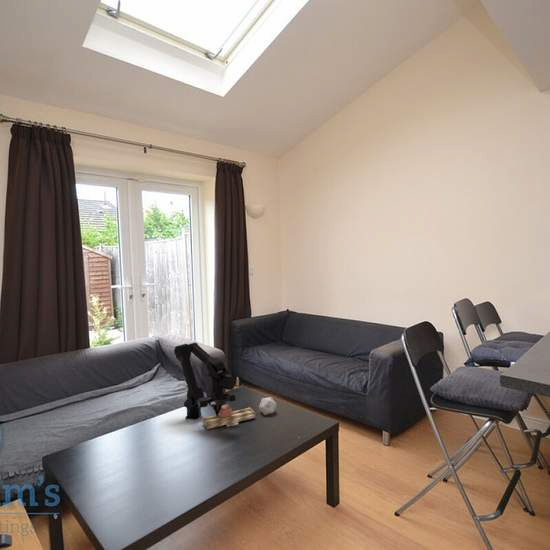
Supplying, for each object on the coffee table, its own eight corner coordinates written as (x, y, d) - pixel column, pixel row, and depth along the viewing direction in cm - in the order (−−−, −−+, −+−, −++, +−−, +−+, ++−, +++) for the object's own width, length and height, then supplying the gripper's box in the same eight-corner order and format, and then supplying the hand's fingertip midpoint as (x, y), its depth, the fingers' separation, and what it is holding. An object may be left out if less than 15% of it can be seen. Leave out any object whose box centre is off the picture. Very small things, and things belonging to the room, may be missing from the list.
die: (255, 414, 196) (260, 404, 190) (260, 401, 203) (264, 391, 197) (270, 420, 196) (275, 410, 190) (274, 406, 203) (279, 396, 197)
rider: (222, 421, 182) (222, 410, 181) (219, 416, 187) (218, 406, 187) (232, 418, 184) (232, 408, 184) (228, 414, 189) (228, 404, 189)
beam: (208, 431, 176) (207, 424, 176) (202, 423, 185) (202, 416, 185) (256, 420, 188) (256, 412, 188) (248, 412, 197) (248, 405, 197)
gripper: (202, 394, 171) (203, 426, 172) (239, 387, 180) (239, 418, 180) (196, 387, 181) (197, 417, 182) (231, 381, 189) (232, 410, 190)
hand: (217, 416), depth 183 cm, fingers closed
